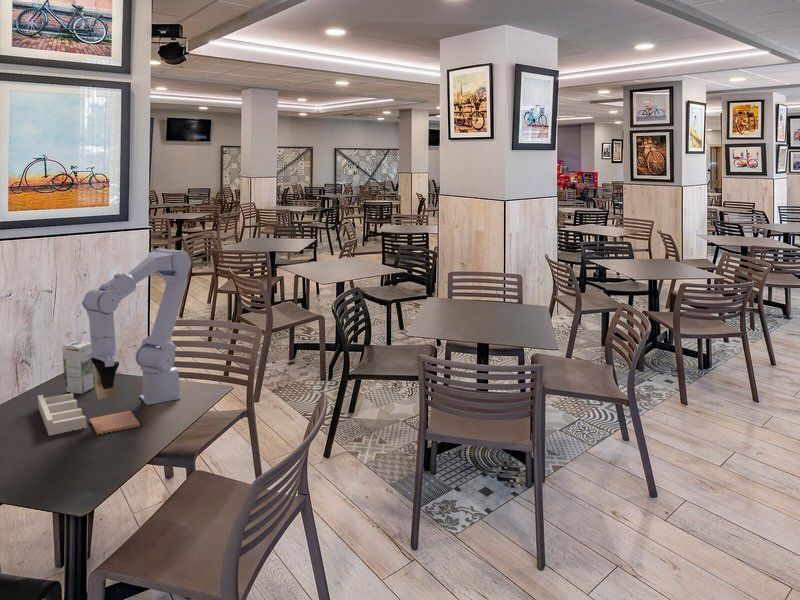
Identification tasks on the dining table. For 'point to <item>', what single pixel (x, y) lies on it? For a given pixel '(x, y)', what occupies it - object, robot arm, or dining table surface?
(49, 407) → the slot rack
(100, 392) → the block
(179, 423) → the dining table surface
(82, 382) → the white carton
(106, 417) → the terracotta tile
